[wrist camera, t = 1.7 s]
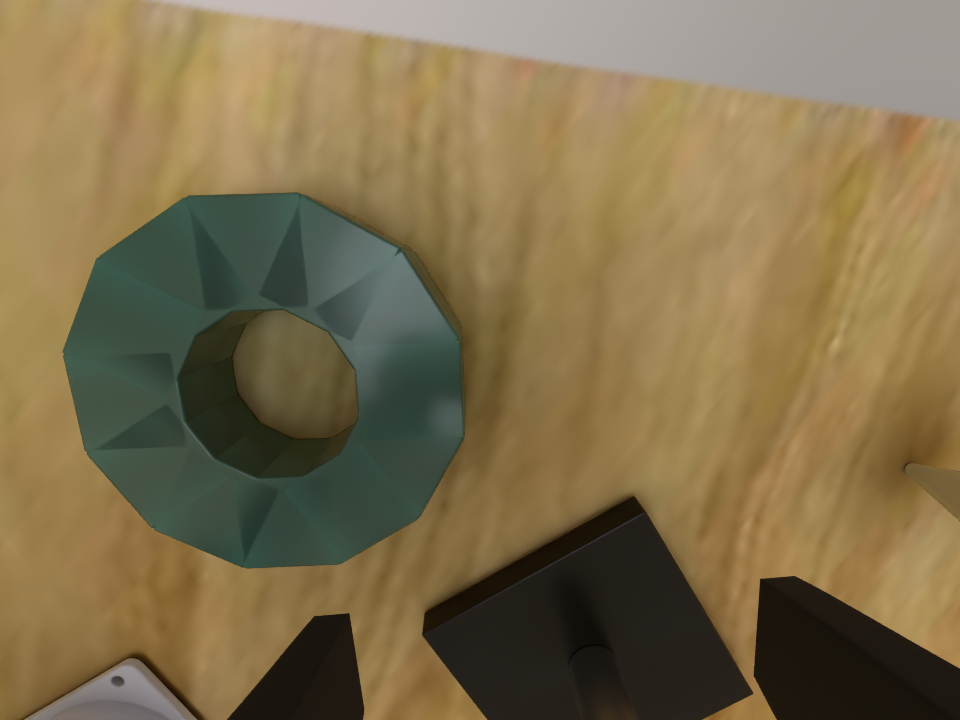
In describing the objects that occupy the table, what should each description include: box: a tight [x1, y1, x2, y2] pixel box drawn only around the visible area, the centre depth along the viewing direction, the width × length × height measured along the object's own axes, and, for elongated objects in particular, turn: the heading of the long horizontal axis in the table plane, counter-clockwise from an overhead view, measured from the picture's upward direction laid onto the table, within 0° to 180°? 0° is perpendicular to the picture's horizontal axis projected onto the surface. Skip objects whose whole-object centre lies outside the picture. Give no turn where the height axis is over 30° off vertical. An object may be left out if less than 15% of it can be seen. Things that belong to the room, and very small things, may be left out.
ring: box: [63, 193, 465, 568], centre depth 15 cm, size 12×12×3 cm
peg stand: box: [422, 496, 753, 720], centre depth 17 cm, size 10×10×6 cm
